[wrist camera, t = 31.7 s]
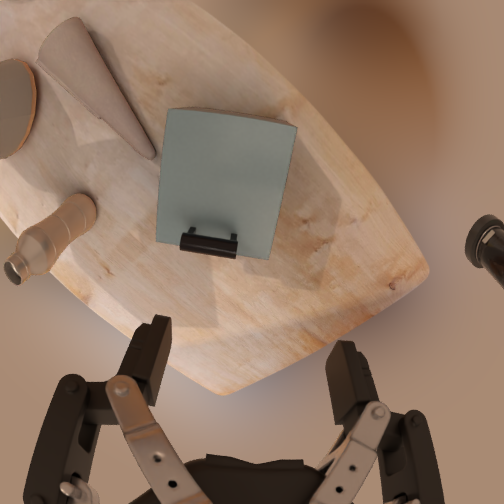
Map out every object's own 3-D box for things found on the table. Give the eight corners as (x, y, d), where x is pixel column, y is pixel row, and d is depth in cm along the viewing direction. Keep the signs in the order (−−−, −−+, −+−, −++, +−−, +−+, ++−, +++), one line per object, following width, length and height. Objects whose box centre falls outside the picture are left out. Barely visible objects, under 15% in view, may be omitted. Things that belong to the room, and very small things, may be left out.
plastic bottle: (94, 185, 40) (13, 245, 22) (106, 223, 43) (38, 295, 25) (66, 194, 40) (-11, 252, 23) (78, 228, 43) (12, 296, 26)
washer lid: (268, 257, 33) (270, 280, 28) (157, 239, 32) (143, 258, 27) (296, 127, 26) (305, 127, 22) (170, 108, 25) (154, 106, 21)
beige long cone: (187, 125, 31) (64, 13, 19) (141, 172, 34) (28, 63, 22) (195, 118, 38) (89, 20, 25) (155, 156, 40) (55, 61, 28)
